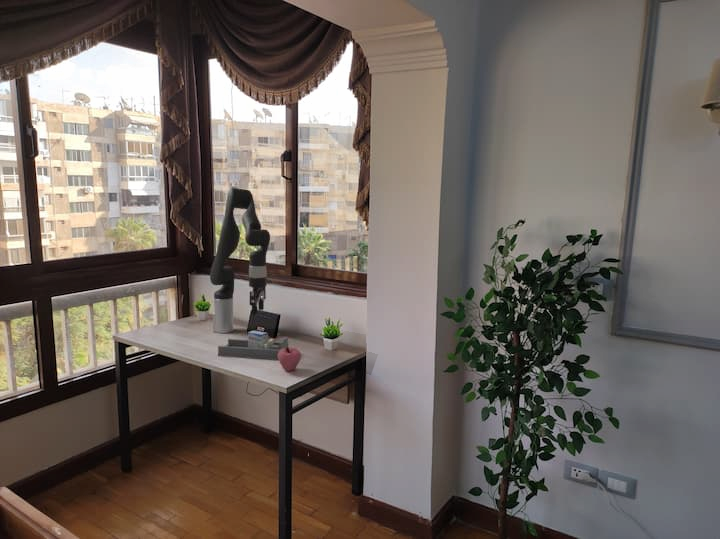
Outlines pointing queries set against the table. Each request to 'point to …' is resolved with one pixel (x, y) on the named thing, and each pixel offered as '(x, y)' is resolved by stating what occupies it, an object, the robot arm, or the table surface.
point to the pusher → (270, 345)
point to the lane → (250, 349)
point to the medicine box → (257, 339)
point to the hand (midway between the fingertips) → (257, 312)
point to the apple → (289, 358)
